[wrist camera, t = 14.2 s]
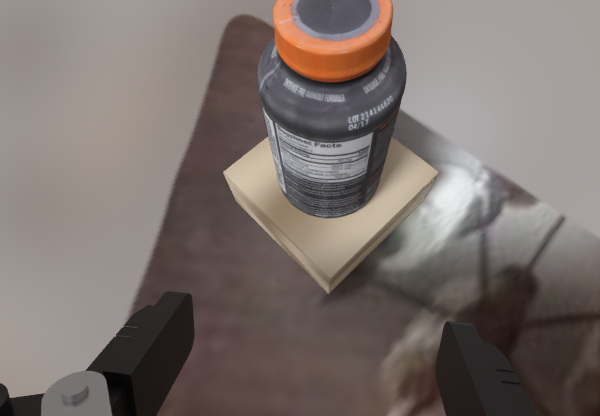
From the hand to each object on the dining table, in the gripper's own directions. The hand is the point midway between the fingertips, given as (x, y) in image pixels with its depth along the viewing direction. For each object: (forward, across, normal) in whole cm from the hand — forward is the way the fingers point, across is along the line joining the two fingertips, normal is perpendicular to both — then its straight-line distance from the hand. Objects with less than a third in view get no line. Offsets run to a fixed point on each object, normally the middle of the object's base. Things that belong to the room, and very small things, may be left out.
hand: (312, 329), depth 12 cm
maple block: (+15, 0, +1) cm, 15 cm away
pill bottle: (+12, 0, -2) cm, 12 cm away
